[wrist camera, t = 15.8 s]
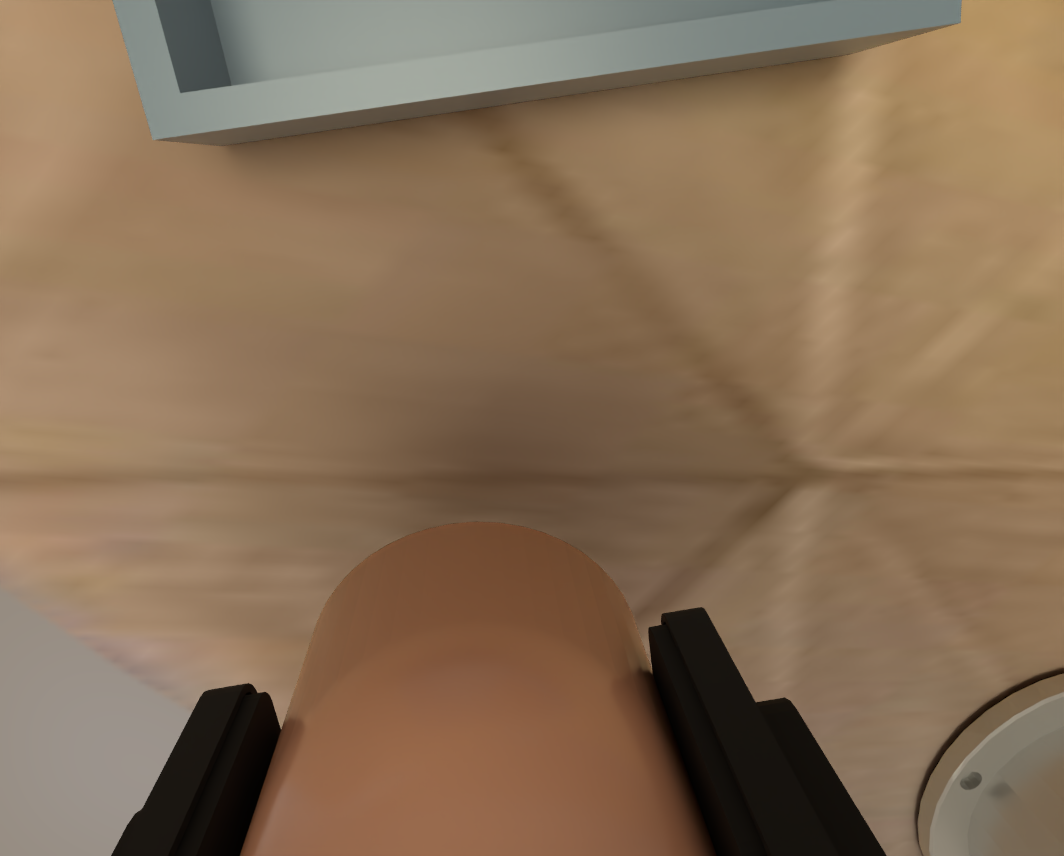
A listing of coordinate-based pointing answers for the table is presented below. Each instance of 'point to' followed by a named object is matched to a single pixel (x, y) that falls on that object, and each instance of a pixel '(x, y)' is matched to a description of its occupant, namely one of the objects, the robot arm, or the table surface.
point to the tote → (460, 53)
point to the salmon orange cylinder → (477, 713)
